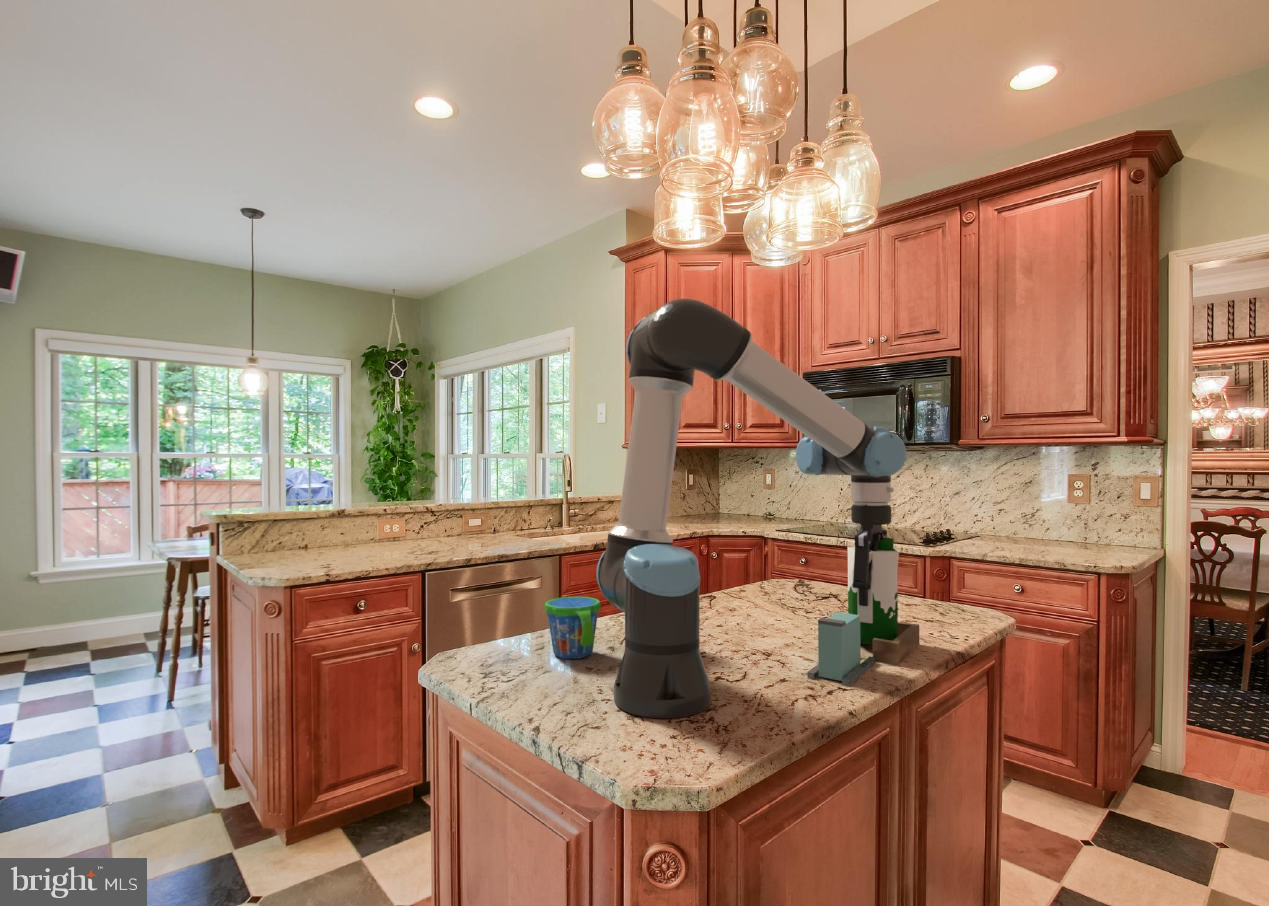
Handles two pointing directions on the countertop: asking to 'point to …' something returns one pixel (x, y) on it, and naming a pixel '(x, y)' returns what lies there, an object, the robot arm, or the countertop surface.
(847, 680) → the rails
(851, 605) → the soya milk
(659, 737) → the countertop surface
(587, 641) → the snack cup
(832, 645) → the slider block
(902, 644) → the cradle
